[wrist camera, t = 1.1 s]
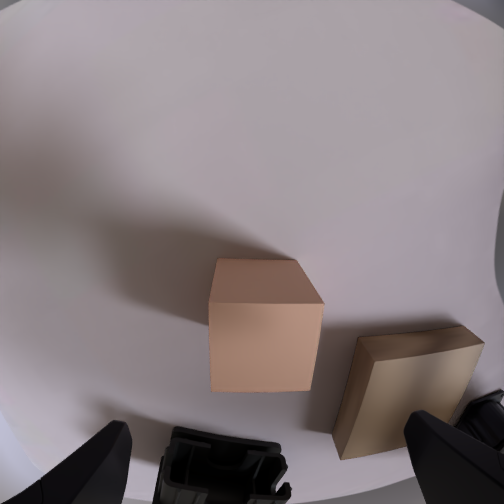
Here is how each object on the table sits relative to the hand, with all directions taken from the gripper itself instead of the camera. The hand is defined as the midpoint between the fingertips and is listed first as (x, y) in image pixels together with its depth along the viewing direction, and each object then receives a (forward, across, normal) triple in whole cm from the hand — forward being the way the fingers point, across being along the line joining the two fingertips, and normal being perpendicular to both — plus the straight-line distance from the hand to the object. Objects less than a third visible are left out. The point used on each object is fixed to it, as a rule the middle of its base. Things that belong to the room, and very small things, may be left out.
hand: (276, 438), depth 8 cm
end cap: (+11, +2, +16) cm, 19 cm away
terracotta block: (+11, 0, 0) cm, 11 cm away
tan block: (+11, -12, +8) cm, 18 cm away
